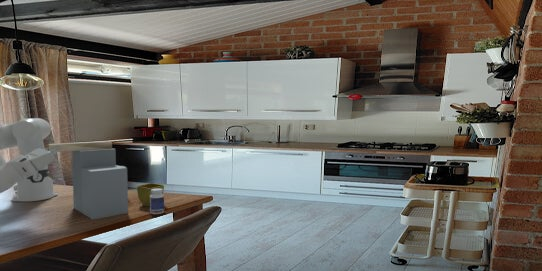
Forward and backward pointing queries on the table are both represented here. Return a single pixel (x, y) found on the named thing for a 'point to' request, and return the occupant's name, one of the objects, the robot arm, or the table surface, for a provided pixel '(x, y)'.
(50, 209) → the table surface
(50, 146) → the wooden rod
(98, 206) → the stepped shelf
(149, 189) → the flower pot
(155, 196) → the pill bottle
